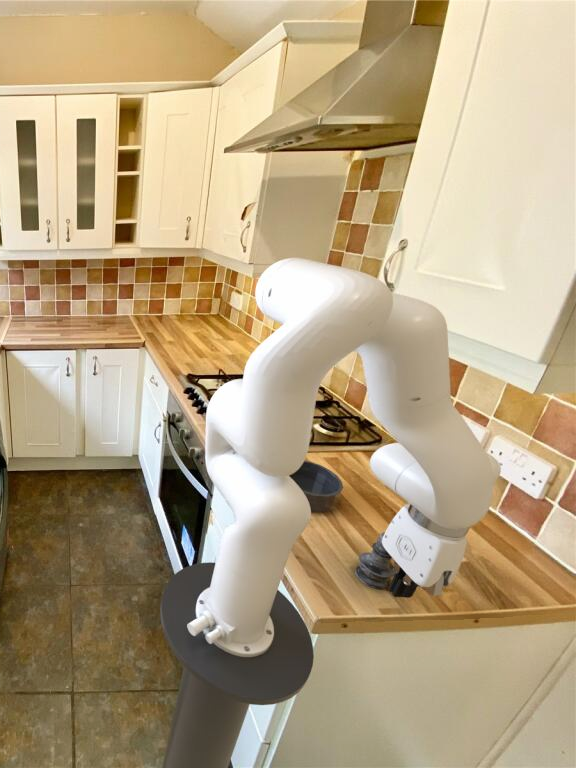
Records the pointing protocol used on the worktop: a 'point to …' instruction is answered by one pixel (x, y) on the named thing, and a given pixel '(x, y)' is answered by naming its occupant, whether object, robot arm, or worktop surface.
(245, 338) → the worktop surface
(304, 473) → the dark grey bowl
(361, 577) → the dark grey chess piece
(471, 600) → the worktop surface
